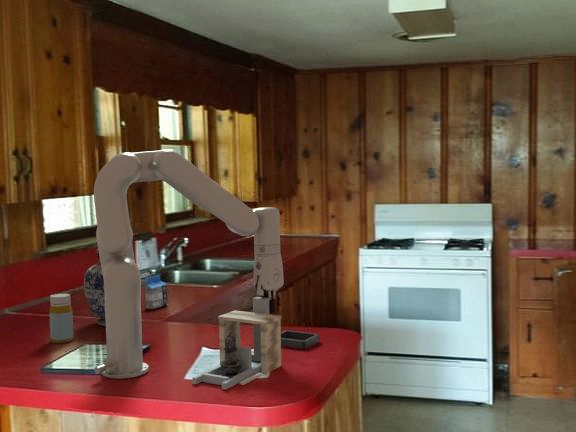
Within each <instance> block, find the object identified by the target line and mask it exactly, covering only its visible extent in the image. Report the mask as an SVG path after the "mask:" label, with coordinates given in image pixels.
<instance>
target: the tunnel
mask: <svg viewBox="0 0 576 432" xmlns="http://www.w3.org/2000/svg"><path fill="white" fill-rule="evenodd" d="M281 319H282V315H279V314H272V313H271V314H270V313H269V314H262V313H253V311H252V312H251V311H244V310H243V311H241V310H232V311H229V312H227V313H224V314H220V315H218V316H217V320H218V337H219V363H220V362H222V361H224V345H225V337H226V336H228V335H229V333H230V332H231V335H233V336H235V338H236V346H241V323H246V324H252V325H253V324H260V327H261V362H260V363H261V371H260V373H262V374H266V375H267V374H268V373H271V372H273V371H274V370H276V369H278V368H280V367H281V366H282V347H281V329H282V328H281V327H282V326H281V325H282V324H281Z"/></svg>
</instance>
